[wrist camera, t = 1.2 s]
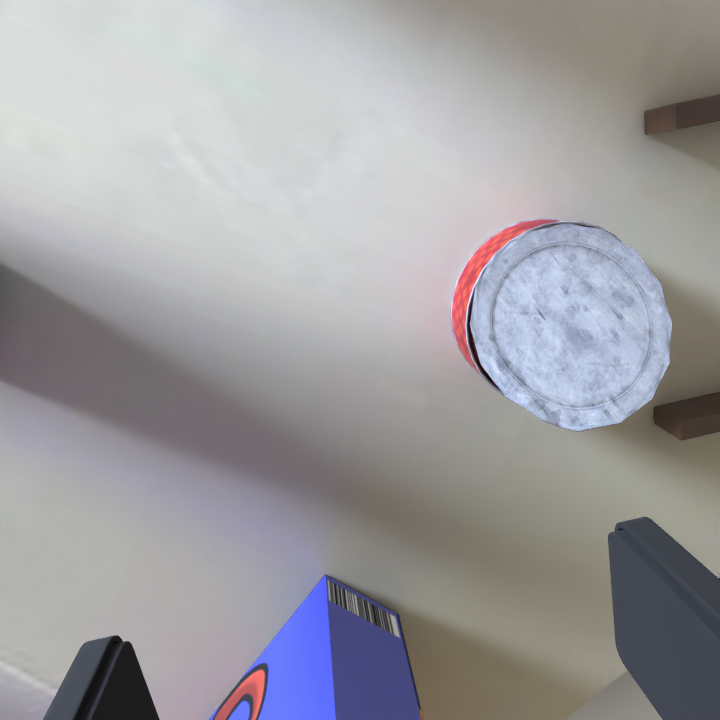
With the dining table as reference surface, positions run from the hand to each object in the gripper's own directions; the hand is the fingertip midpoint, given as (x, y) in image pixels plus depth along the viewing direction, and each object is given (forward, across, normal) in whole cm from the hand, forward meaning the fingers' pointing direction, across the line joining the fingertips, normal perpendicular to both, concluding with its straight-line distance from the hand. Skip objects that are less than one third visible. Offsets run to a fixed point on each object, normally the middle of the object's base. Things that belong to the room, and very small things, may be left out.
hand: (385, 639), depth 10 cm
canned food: (+22, -12, -1) cm, 25 cm away
